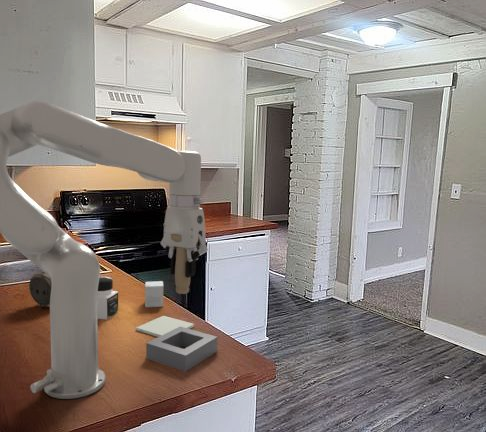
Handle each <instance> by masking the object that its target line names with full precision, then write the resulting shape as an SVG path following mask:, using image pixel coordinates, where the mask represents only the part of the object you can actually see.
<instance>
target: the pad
mask: <svg viewBox="0 0 486 432" xmlns="http://www.w3.org/2000/svg"><path fill="white" fill-rule="evenodd" d="M178 327H184V328H188V329H192V328H194V327H195V323H193V322H188V321H185V320H181V319H177V318H173V317H169V316H166V315H162V316H160V317H157V318H154V319H152V320H150V321H148V322H145V323H143V324H141V325H139V326H136V327H135V330H136V331H138V332H140V333H145V334H147V335H151V336H154V337H156V338H158V337H160V336H162V335H164V334H166V333H168V332H170V331H172V330H174V329H176V328H178Z"/></svg>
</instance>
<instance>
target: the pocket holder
mask: <svg viewBox="0 0 486 432" xmlns="http://www.w3.org/2000/svg"><path fill="white" fill-rule="evenodd" d="M145 344H146V345H145V348H146V349H145V354H146V355H145V358H146V359H147V360H150V361H152V362H153V361H154V362H157V363H159V364H163V365H166V366H168V367H171V368H173V369H177V370H179V371H183V372H187V371H189V370H191V369H192V368H193V367H195V366H197V365H198V364H200V363H202V361H204V360H206V359H207V358H209V357H211V356H212V355H214V354H216V353H217V352H218V336H216V335H212V334H209V333H206V332H201V331H198V330H194V329H192V328H190V329H188V328H184V327H178V328H176V329H174V330H172V331H170V332H168V333H166V334H164V335H162V336H160V337H156V338H154V339H151V340H149V341H148V342H146V343H145ZM182 347H185V348H182Z"/></svg>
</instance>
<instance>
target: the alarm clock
mask: <svg viewBox="0 0 486 432" xmlns="http://www.w3.org/2000/svg"><path fill="white" fill-rule="evenodd" d="M28 285H29V289H28V290H29V293H30V296H31V298H32V300H33V301H34V302H36V304H37V305H39V307H38V309H39V310H41V309H42V307H49V306H50V296H51V288H52V280H51V278H50V277H49V276H48V275H47V274H46V273H45V272H44V271H41V272H38V273H36V274H34V275H33V276H31V278H30V280H29V283H28Z"/></svg>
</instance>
